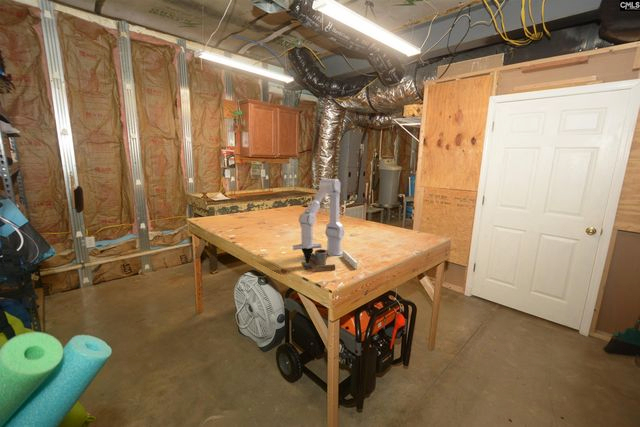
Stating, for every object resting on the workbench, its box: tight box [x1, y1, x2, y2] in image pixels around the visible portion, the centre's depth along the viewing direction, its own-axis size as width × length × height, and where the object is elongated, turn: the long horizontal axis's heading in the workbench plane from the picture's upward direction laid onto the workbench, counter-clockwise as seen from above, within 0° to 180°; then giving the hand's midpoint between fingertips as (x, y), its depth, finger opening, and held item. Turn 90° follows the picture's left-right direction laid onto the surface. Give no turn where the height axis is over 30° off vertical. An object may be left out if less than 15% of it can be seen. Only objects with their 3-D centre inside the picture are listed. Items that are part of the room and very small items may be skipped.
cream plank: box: [342, 249, 358, 270], centre depth 149 cm, size 20×1×4 cm, turn 14°
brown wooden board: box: [309, 255, 336, 272], centre depth 146 cm, size 17×10×2 cm, turn 14°
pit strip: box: [301, 261, 313, 271], centre depth 144 cm, size 10×4×1 cm, turn 14°
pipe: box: [310, 248, 328, 266], centre depth 146 cm, size 6×13×8 cm, turn 32°
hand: (307, 262), depth 144 cm, fingers closed
